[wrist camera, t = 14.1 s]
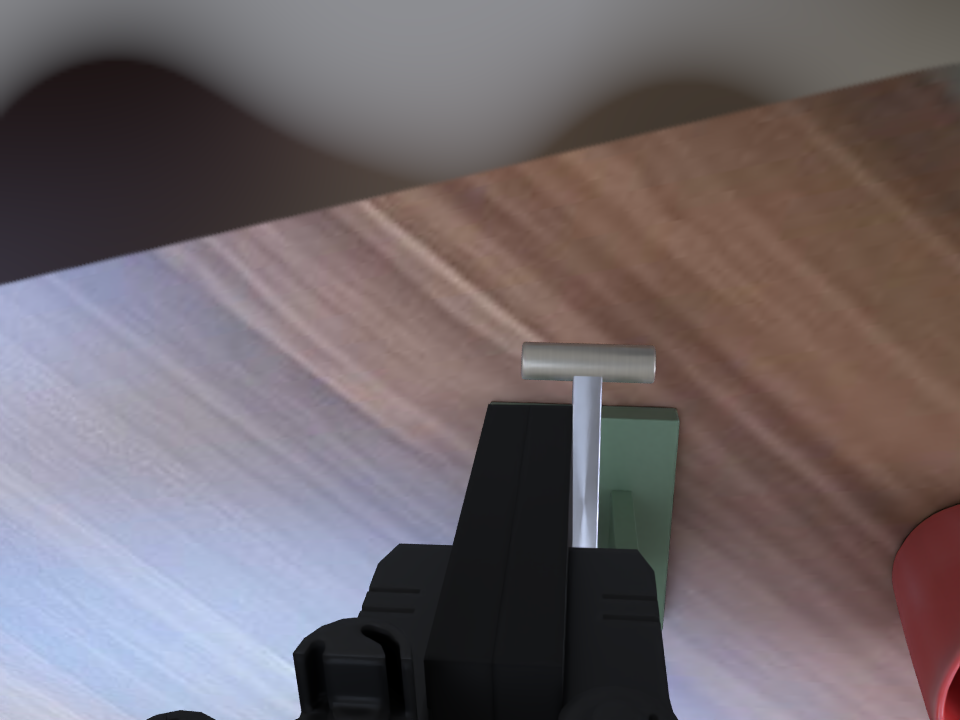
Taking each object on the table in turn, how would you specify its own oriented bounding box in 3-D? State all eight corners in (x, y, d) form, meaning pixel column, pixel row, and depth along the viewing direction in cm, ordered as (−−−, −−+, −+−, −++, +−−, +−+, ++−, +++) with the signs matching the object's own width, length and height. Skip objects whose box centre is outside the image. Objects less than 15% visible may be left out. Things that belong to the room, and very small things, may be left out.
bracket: (490, 401, 42) (452, 564, 30) (676, 407, 42) (720, 578, 29) (491, 603, 47) (458, 821, 34) (660, 613, 46) (691, 841, 33)
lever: (524, 342, 34) (521, 341, 32) (651, 345, 34) (658, 345, 31) (514, 695, 34) (510, 720, 32) (640, 704, 34) (646, 730, 32)
